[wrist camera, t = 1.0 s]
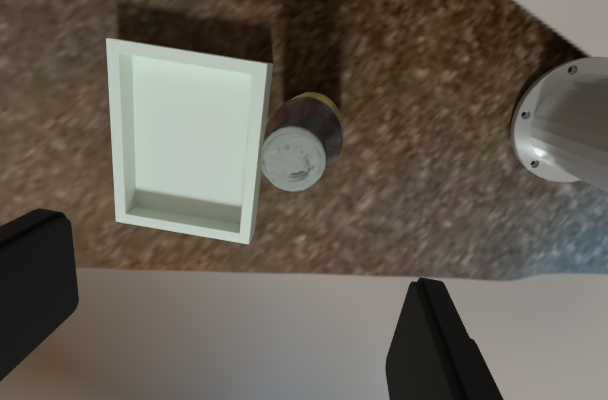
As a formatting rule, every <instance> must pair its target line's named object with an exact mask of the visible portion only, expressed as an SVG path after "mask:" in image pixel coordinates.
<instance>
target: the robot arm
mask: <svg viewBox="0 0 608 400" xmlns="http://www.w3.org/2000/svg"><path fill="white" fill-rule="evenodd" d="M568 69H569V72H568ZM523 112H524V115H523V116H521V114H522V113H523ZM510 139H511V143H512V148H513V151H514V153H515V155H516V157H517V159H518V160H519V161H520V163H521V164H522V165H523V166H524V167H525V168H526V169H528V170H529V171H530V172H532V173H534V174H535V175H537V176H539V177H541V178H544V179H547V180H550V181H556V182H574V181H580V180H582V181H584V182H587V183H589V184H591V185H593V186H595V187H597V188H599V189H601V190H603V191H605V192H607V193H608V58H602V57H586V58H579V59H575V60H570V61H567V62H565V63H563V64H560V65H558V66H556V67H554V68H552V69H551V70H549V71H547V72H546V73H544V74H543V75H542V76H541V77H540V78H538V79H537V80H536V81H535V82H534V83H533V84H532V85H531V86H530V87H529V88H528V90H527V91H526V92H525V93H524V95H523V96H522V98H521V99H520V101H519V103H518V104H517V107H516V109H515V112H514V114H513V118H512V122H511V131H510ZM532 161H533V162H532ZM531 162H532V163H531ZM78 302H79V297H78V287H77V277H76V267H75V258H74V248H73V238H72V228H71V222H70V221H69V220H68V219H66V216H65V215H64V214H63V213H62V212H57V211H52V210H46V209H35V210H33V211H31V212H29V213H27V214H25V215H23V216H21V217H19V218H17V219H15V220H13V221H11V222H9V223H7V224H5V225H3V226H0V381H1V380H2V379H3V378H4V377H5V376H7V375H8V374H9V373H10V372H11V371H12V370H13V369H14V368H15V367H16V366H17V365H18V364H19V363H20V362H21V361H23V360H24V359H25V358H26V357H27V356H28V355H29V354H30V353H31V352H32V351H33V350H34V349H35V348H36V347H37V346H38V345H39V344H40V343H42V342H43V341H44V340H45V339H46V337H48V336H49V335H50V334H51V333H52V332H53V331H54V330H55V329H56V328H57V327H58V326H59V325H60V324H62V323H63V322H64V321H65V320H66V319H67V318H68V317H69V316H70V315H71V314H72V313H73V312H74V311H75V309H76V308H77V305H78ZM386 377H387V384H388V391H389V398H390V400H503V398H502V396H501V394H500V392H499V389H498V387H497V385H496V383H495V381H494V379H493V377H492V375H491V373H490V371H489V369H488V367H487V365H486V363H485V361H484V358H483V357H482V354H481V352H480V350H479V348H478V346H477V344H476V343H475V341H474V340H473V339H471V338H469V336H468V333H467V332H466V329H465V327H464V325H463V323H462V321H461V319H460V316H459V314H458V312H457V310H456V308H455V306H454V303H453V301H452V299H451V297H450V295H449V293H448V291H447V289H446V286H445V284H444V283H443V282H442V281H437V280H432V279H427V278H419V279H418V281H417V282H411V283H410V285H409V288H408V292H407V295H406V298H405V301H404V304H403V307H402V311H401V314H400V317H399V320H398V323H397V327H396V330H395V333H394V336H393V339H392V342H391V346H390V349H389V352H388V355H387V359H386Z"/></svg>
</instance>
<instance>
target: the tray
mask: <svg viewBox="0 0 608 400" xmlns="http://www.w3.org/2000/svg"><path fill="white" fill-rule="evenodd" d="M106 45H107V64H108V83H109V101H110V120H111V138H112V157H113V176H114V194H115V213H116V222H122V223H128V224H134V225H139V226H145V227H151V228H157V229H163V230H168V231H174V232H180V233H186V234H192V235H198V236H203V237H209V238H215V239H221V240H227V241H233V242H238V243H244V244H249V243H250V241H251V239H252V237H253V234H254V232H255V227H256V218H257V209H258V200H259V190H260V181H261V172H262V169H261V165H260V150H261V147H262V144H263V142H264V141H265V140H264V135H265V129H266V126H267V116H268V107H269V98H270V88H271V79H272V70H273V63H266V62H260V61H254V60H248V59H241V58H235V57H229V56H223V55H216V54H210V53H204V52H198V51H191V50H185V49H179V48H173V47H166V46H160V45H154V44H148V43H141V42H135V41H129V40H121V39H111V38H106Z"/></svg>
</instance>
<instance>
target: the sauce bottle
mask: <svg viewBox="0 0 608 400" xmlns="http://www.w3.org/2000/svg"><path fill="white" fill-rule="evenodd" d="M264 140H265V141H264V142H263V144H262V147H261V150H260V165H261V169H262V171H263V173H264V175H265V176H266V177H267V179H268V180H269V181H270V182H271V183H272V184H274V185H275V186H276V187H278V188H280V189H282V190H287V191H302V190H305V189H307V188H309V187H311V186H312V185H314V184H315V183H317V182H318V181H319V179H320V178H321V176H322V175H323V173H324V171H325V169H326V168H328V167H329V166H330V165H331V164H333V162H334V161H335V160H336V159H337V157H338V155H339V153H340V151H341V148H342V144H343V131H342V125H341V118H340V113H339V111H338V109H337V107H336V105H335V104H334V103H333V101H332V100H331V99H329V98H328V97H326V96H325V95H322V94H319V93H315V92H306V93H303V94H301V95H298V96H296V97H294V98H293V99H291V100H289V101H287V102H285V103H284V104H283V105H281V106H280V107H279V108H278V109H277V110H276V111H275V112H274V114H273V115H272V116H271V118H270V119H269V122H268V123H267V126H266V129H265V135H264Z"/></svg>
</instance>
